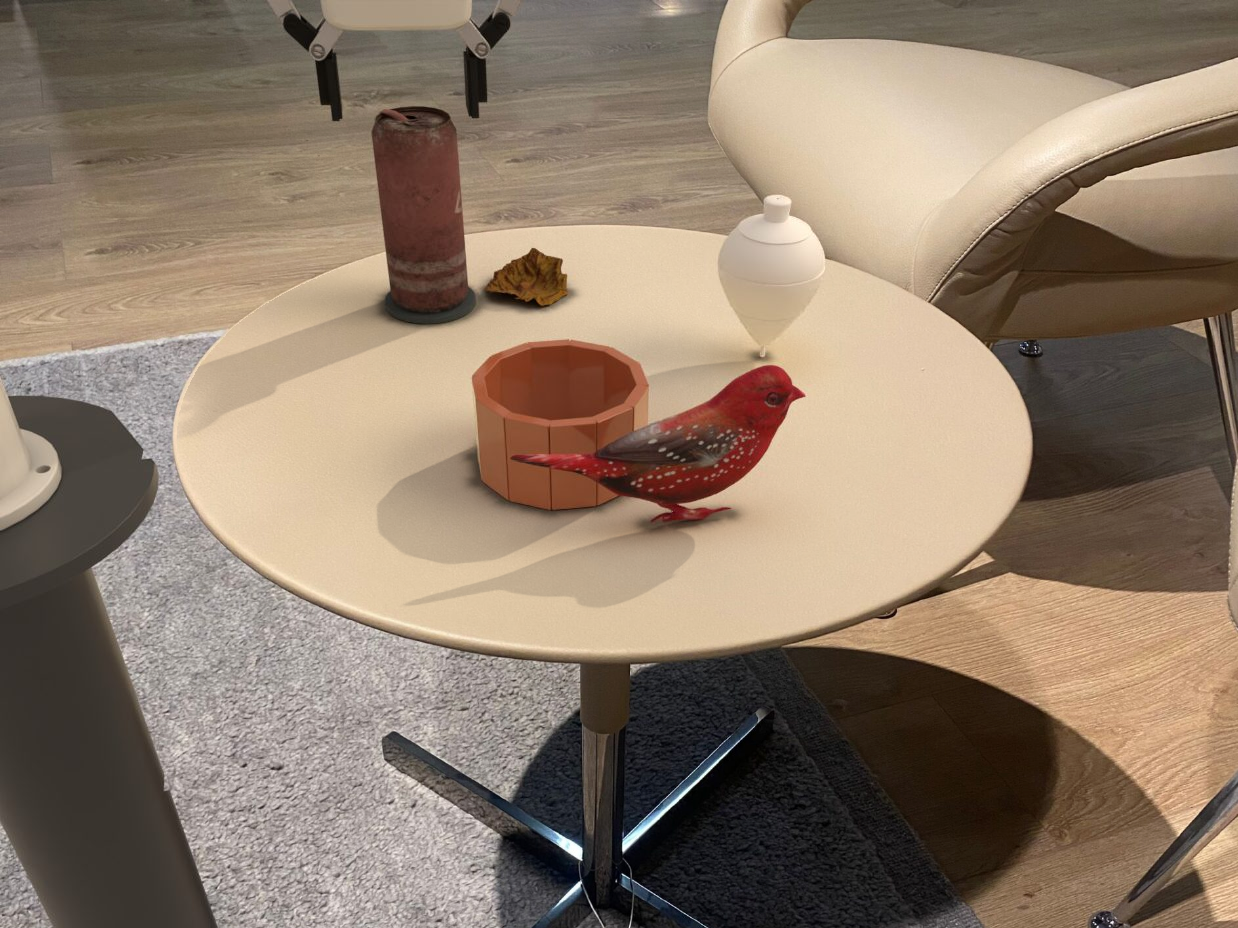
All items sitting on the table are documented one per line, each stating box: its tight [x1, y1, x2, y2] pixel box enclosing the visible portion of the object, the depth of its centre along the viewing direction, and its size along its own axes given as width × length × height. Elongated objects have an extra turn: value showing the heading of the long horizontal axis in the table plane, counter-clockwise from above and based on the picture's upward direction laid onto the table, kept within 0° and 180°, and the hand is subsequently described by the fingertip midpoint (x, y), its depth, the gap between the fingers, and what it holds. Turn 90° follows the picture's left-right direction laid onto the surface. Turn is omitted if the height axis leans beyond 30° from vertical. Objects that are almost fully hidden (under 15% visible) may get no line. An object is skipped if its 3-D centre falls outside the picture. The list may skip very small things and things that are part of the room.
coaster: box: [384, 286, 477, 325], centre depth 95 cm, size 7×7×1 cm
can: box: [370, 105, 469, 313], centre depth 90 cm, size 6×6×14 cm
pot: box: [471, 338, 650, 511], centre depth 76 cm, size 11×11×6 cm
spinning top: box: [717, 194, 826, 358], centre depth 86 cm, size 8×8×12 cm
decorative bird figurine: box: [510, 364, 807, 523], centre depth 70 cm, size 3×18×10 cm, turn 105°
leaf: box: [484, 247, 569, 307], centre depth 97 cm, size 6×7×2 cm
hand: (405, 114), depth 85 cm, fingers open, 9 cm apart
